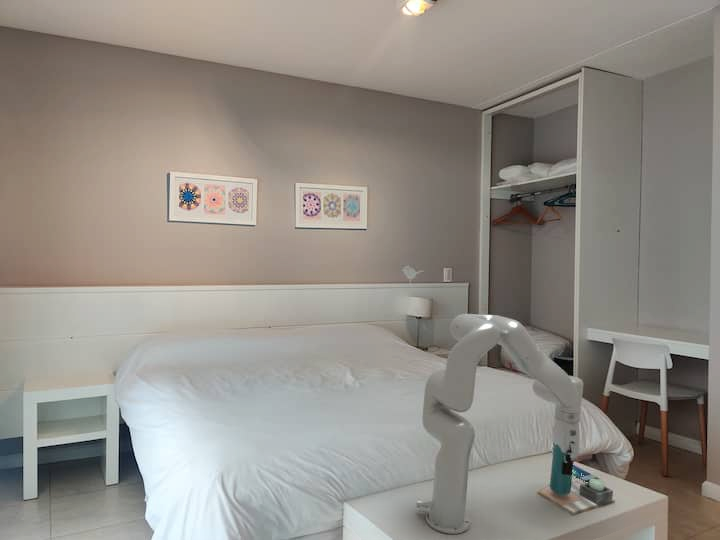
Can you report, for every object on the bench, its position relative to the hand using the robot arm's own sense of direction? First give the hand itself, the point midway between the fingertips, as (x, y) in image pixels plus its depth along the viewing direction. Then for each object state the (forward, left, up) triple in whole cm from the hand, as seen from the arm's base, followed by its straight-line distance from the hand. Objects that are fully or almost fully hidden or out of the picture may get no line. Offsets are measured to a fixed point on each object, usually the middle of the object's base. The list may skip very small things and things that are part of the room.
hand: (561, 468), depth 167 cm
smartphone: (+8, +23, -11) cm, 27 cm away
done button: (+11, +4, -7) cm, 14 cm away
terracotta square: (0, 0, -10) cm, 10 cm away
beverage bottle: (0, 0, -9) cm, 9 cm away
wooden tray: (+5, +3, -10) cm, 12 cm away
